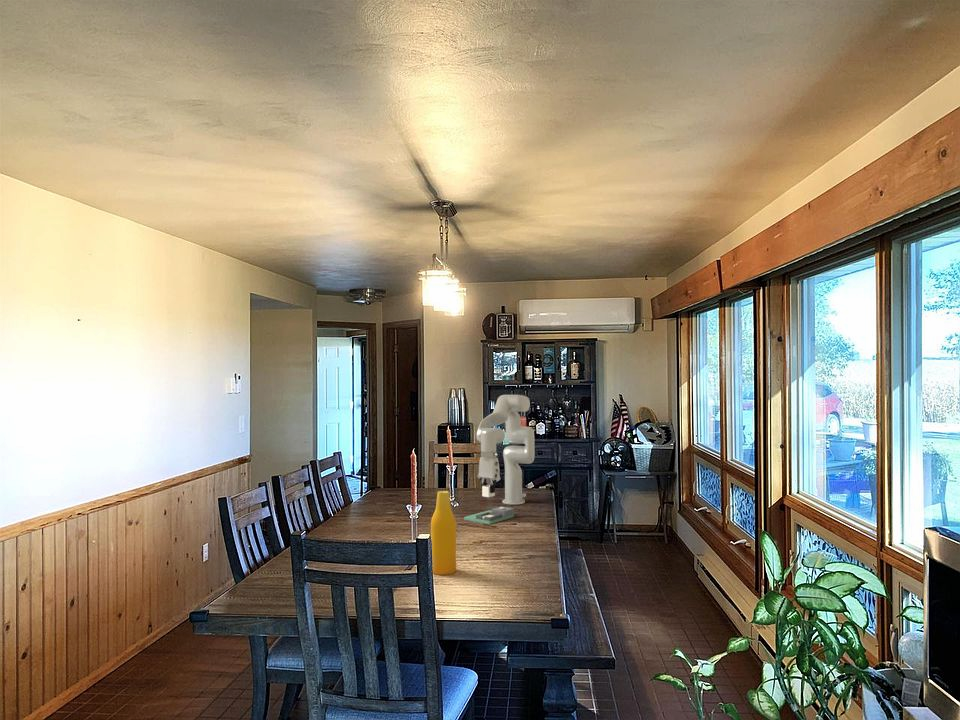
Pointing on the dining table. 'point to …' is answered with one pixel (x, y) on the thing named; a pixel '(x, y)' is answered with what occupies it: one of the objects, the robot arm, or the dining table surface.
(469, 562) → the dining table surface
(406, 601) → the dining table surface
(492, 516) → the header
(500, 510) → the fan
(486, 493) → the plug
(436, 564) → the beer bottle
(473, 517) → the board
